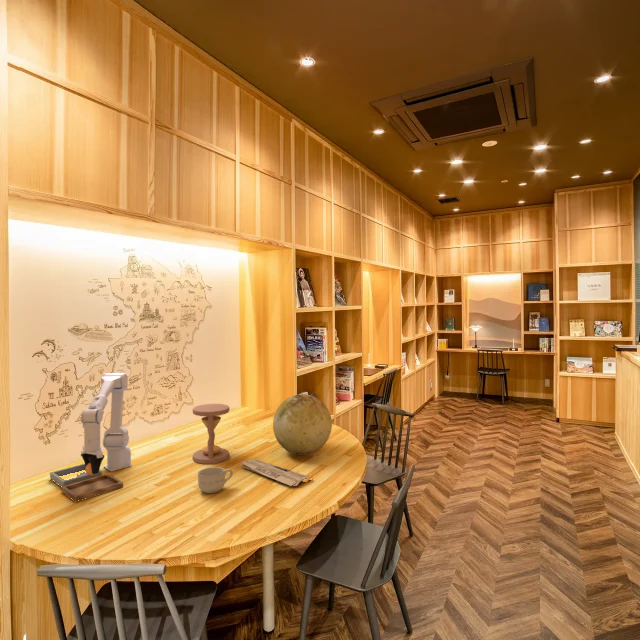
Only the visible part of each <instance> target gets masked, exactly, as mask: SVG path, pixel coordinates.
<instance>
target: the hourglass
mask: <svg viewBox="0 0 640 640" xmlns="http://www.w3.org/2000/svg"><path fill="white" fill-rule="evenodd" d="M229 412H230V406H229V405H227V404H223V403H207V404H206V403H205V404H201V405H196V406H194V407H193V408H192V414H193V415H195V416H197V417H202V418H201V422H202V423H203V424H204V426H205V428H206V429H207V434H208V438H207V445H206V446H204V447H203V448H201V449H199V450H196V451H195V452H193V454H192V460H193V462H194V463H196V462H197V464H200V463H201V465H213V464H214V463H215V464H219V462H220V463H222V461H223V462H225V461H226V459H227V460H228V459H229V458H230V451H229V449H226V448H224V447H223V448H221V446H219V445H215V438H216V433H215V429H216V427H217V426H218V424H219V423H220V422H221V419H222V417H221V416H223V415H226V414H228V413H229Z"/></svg>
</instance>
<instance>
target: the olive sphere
mask: <svg viewBox="0 0 640 640" xmlns="http://www.w3.org/2000/svg"><path fill="white" fill-rule="evenodd" d="M272 421H273V422H272V430H273V434H274V437H275V439H276V441H277V443H278V444H279V445H280V446H281V447H282V448H283V449H284V450H285V451H287V452H289V454H290V453H291V454H293V455H297V456H306V455H310V454H313V453H316V452H317V451H319V450H320V449H322V448H323V447H324V445H325V444H326V443H327V442H328V440H329V438H330V436H331V433H332V429H333V428H332V427H333V423H332V416H331V413H330V411H329V408H328V407H327V406H326V405H325V403H324V402H322V401H321V400H320V399H319V398H317V397H315V396H314V395H310V394H304V393H303V394H295V395H292V396H289V397H288V398H286V399H285V400H283V402H281V403H280V404H279V406H278V407H277V408H276V411H275V413H274V415H273V419H272Z"/></svg>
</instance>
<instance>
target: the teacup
mask: <svg viewBox="0 0 640 640" xmlns="http://www.w3.org/2000/svg"><path fill="white" fill-rule="evenodd" d="M228 472H229V473H230V474H229V475H228V476H227V477H226V474H227V473H228ZM233 475H234V473H233V469H232V468H226V469H225V468H223V467H219V466H212V467H210V466H209V467H206V468H202V469H200V470H199V471H198V472H197V483H198V488H199V490H201V491H202V492H203V493H204V494H213V493H217V492H219V491H221V490H222V488H223V487H224V486H225V484H226V483H227V482H228V481H230V479H231V478H232V477H233Z"/></svg>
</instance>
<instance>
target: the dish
mask: <svg viewBox="0 0 640 640" xmlns="http://www.w3.org/2000/svg"><path fill="white" fill-rule="evenodd" d="M85 468H86V466H85V463H81V464H78V465H77V464H76V465H74V466H70V467H66V468H62V469H59V470H55V471H51V472H49V479H50V478H51V479H52V480H54V481H55V482H56V483H58V484H59V485H60V486H62V487H63V486H67V485H70V484H73V483H77V482H80V481H84V480H87V479H91V478H94V477H97V476H101V475H103V473H102V470H101V469H99V473H96V474H94V475H88V474H87V473H85V472H83V473H80V475H78V474H77V477H76V478H72V479H69V480H64V479H62V478H61V477H59V476H63V475H67V474H70V473H75V472H79V471H82V470H85ZM52 480H51V481H52ZM56 483H55V484H56ZM60 486H59V487H60Z"/></svg>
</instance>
